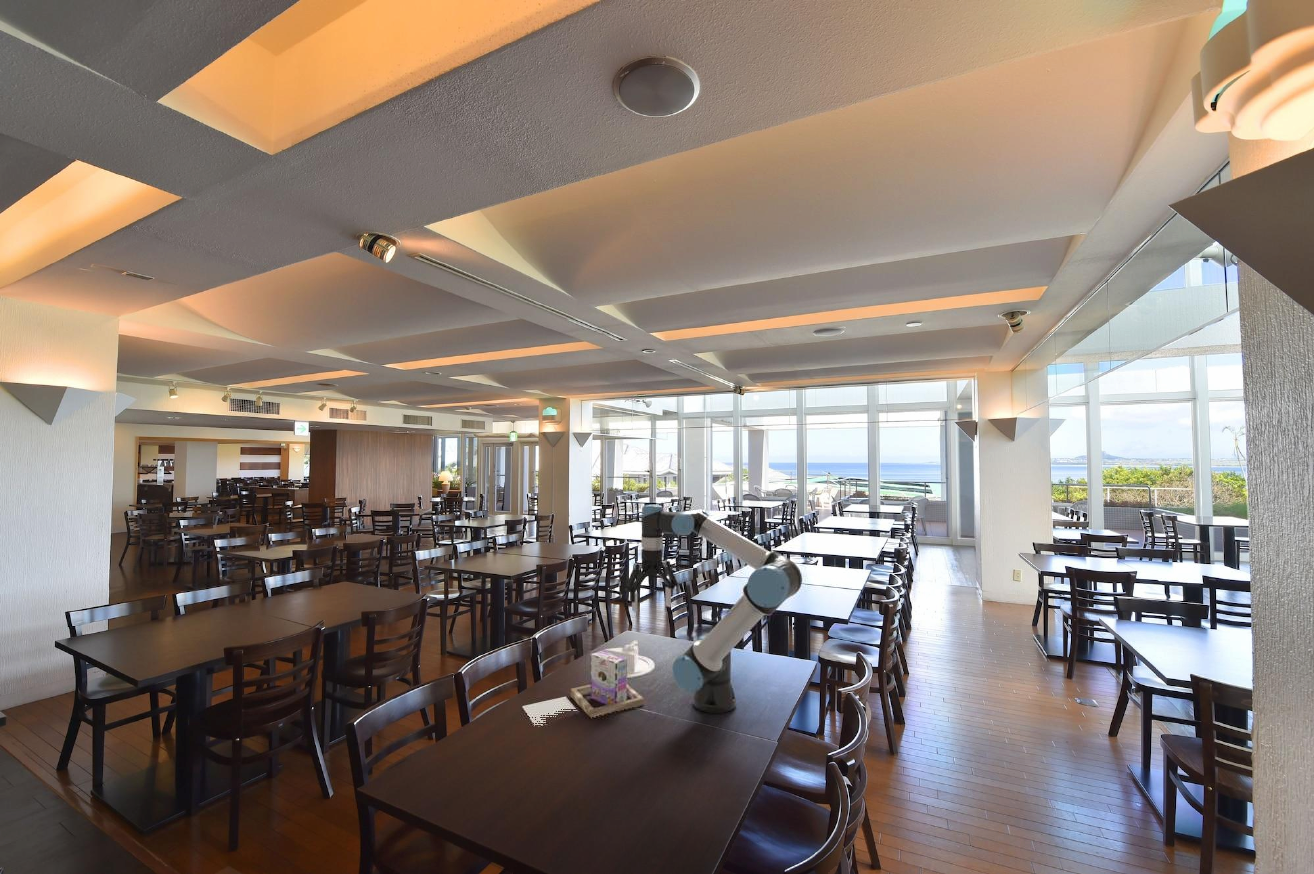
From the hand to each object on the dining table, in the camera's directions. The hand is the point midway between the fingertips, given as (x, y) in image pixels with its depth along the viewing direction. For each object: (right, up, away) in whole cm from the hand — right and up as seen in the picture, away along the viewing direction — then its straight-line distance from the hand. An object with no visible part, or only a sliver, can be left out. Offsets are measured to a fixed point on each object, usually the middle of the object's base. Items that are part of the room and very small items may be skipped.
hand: (651, 608), depth 190 cm
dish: (-11, -37, +36) cm, 52 cm away
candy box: (-16, -35, +3) cm, 39 cm away
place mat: (-34, -34, -6) cm, 49 cm away
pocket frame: (-16, -35, +3) cm, 39 cm away
